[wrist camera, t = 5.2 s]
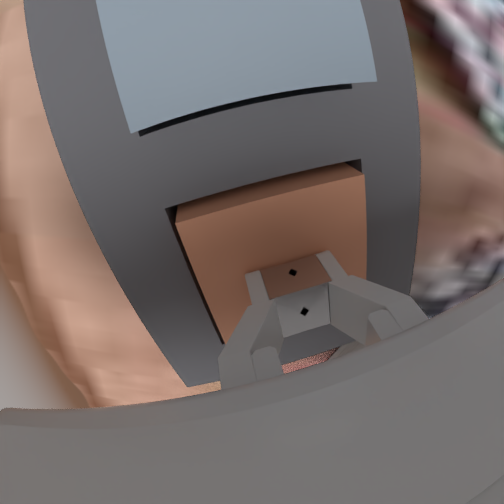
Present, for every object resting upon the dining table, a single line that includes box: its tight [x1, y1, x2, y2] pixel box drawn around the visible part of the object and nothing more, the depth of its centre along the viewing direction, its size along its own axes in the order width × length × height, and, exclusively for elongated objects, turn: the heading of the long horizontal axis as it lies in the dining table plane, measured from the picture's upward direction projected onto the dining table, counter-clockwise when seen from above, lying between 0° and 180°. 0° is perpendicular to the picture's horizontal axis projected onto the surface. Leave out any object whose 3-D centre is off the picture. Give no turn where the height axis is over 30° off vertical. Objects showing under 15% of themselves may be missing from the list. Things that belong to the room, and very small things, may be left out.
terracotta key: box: [175, 162, 367, 344], centre depth 12 cm, size 6×6×4 cm
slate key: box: [96, 0, 377, 133], centre depth 6 cm, size 6×6×4 cm
